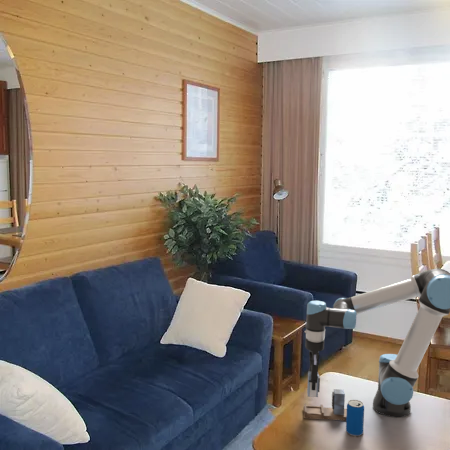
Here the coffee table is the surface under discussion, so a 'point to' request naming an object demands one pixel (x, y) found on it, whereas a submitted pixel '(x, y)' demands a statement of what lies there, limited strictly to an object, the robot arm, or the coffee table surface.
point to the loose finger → (309, 384)
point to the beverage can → (355, 417)
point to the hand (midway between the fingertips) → (312, 393)
